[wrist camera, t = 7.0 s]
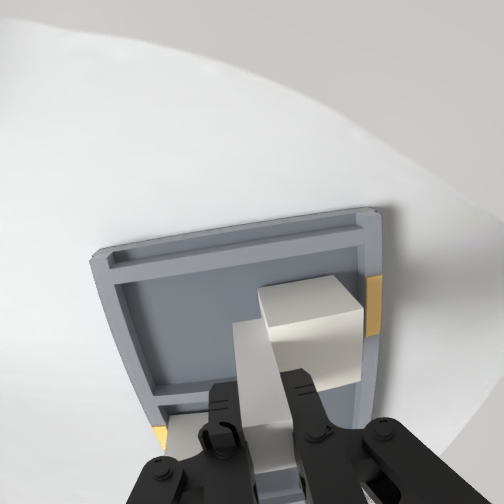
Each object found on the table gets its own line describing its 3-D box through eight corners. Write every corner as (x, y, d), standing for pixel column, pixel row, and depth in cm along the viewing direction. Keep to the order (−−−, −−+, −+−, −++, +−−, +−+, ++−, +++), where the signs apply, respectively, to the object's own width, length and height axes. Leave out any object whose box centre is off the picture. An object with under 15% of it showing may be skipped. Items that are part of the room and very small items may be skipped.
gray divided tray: (99, 249, 16) (83, 262, 14) (367, 206, 17) (386, 214, 15) (202, 501, 24) (202, 519, 22) (352, 475, 25) (359, 492, 22)
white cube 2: (169, 415, 18) (163, 462, 14) (231, 409, 18) (234, 457, 15) (186, 451, 19) (183, 495, 16) (241, 446, 20) (245, 490, 16)
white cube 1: (257, 288, 16) (268, 327, 12) (333, 274, 16) (363, 308, 13) (266, 352, 17) (277, 400, 14) (335, 338, 18) (360, 381, 14)
